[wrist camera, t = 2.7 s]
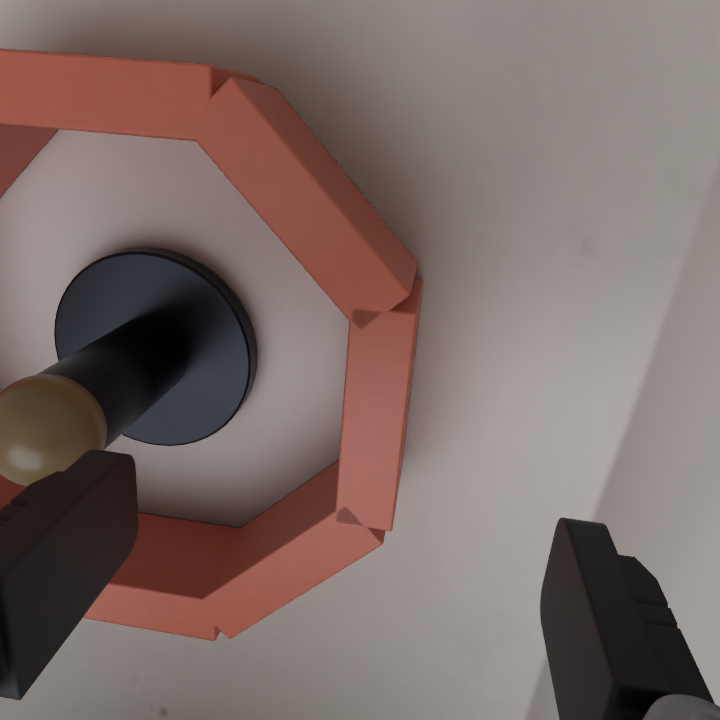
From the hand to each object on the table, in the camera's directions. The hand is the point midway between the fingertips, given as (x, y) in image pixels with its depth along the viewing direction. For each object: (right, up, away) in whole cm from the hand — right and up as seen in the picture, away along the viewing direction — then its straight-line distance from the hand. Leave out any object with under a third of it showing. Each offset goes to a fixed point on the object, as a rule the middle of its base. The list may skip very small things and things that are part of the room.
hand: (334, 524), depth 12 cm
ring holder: (-6, +4, +8) cm, 11 cm away
